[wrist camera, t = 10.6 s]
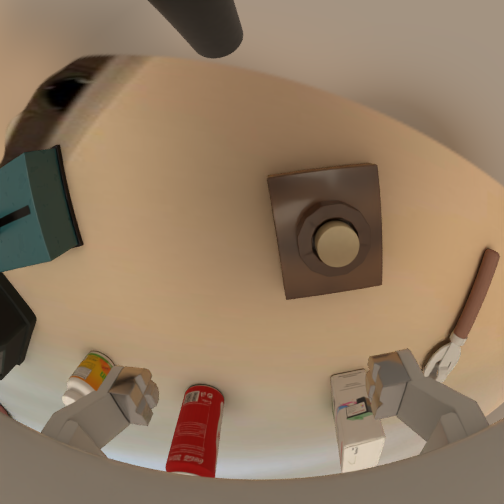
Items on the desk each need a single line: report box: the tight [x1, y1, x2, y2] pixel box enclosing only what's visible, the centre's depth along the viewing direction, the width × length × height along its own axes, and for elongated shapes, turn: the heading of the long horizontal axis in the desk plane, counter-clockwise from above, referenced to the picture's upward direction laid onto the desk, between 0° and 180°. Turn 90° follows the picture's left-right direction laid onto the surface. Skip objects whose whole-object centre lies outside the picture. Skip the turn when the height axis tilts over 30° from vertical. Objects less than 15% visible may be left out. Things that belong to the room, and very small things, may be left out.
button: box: [315, 221, 359, 267], centre depth 23 cm, size 4×4×2 cm
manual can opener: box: [423, 249, 500, 382], centre depth 29 cm, size 20×6×3 cm, turn 171°
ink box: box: [331, 369, 386, 473], centre depth 30 cm, size 8×5×12 cm, turn 12°
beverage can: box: [166, 385, 224, 478], centre depth 30 cm, size 6×6×15 cm
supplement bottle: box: [62, 352, 114, 406], centre depth 33 cm, size 5×5×10 cm
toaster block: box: [0, 145, 83, 272], centre depth 26 cm, size 13×15×6 cm
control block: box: [267, 163, 382, 300], centre depth 25 cm, size 12×10×4 cm
